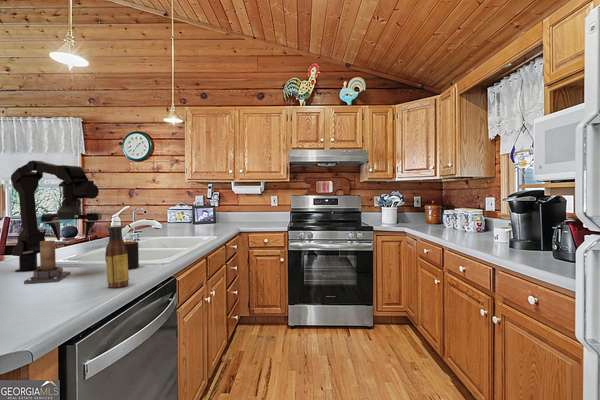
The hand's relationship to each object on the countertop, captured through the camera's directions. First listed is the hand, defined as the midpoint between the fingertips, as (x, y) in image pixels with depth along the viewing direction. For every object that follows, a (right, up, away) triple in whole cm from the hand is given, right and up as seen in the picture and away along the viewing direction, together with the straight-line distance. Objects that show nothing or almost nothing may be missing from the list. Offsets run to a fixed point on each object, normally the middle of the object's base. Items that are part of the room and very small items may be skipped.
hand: (72, 239), depth 131 cm
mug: (+14, -13, +10) cm, 21 cm away
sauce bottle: (+26, -14, -17) cm, 34 cm away
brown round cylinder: (-4, -12, -7) cm, 15 cm away
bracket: (-4, -13, -7) cm, 16 cm away
